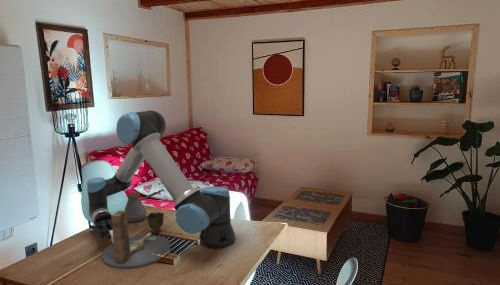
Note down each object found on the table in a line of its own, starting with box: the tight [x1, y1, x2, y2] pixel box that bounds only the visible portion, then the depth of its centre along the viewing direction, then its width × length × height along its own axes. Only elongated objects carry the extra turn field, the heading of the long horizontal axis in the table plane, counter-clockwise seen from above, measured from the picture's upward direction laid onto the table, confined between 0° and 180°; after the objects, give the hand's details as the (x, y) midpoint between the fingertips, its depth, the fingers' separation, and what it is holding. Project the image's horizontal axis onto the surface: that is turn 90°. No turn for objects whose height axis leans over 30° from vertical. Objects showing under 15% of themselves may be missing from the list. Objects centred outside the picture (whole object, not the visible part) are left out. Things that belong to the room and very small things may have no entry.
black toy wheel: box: [146, 211, 164, 233], centre depth 161 cm, size 8×7×8 cm
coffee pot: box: [123, 189, 166, 223], centre depth 176 cm, size 21×12×15 cm, turn 93°
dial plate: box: [101, 234, 171, 270], centre depth 142 cm, size 26×26×2 cm
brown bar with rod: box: [111, 210, 152, 263], centre depth 140 cm, size 24×5×18 cm, turn 167°
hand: (115, 239), depth 131 cm, fingers closed
